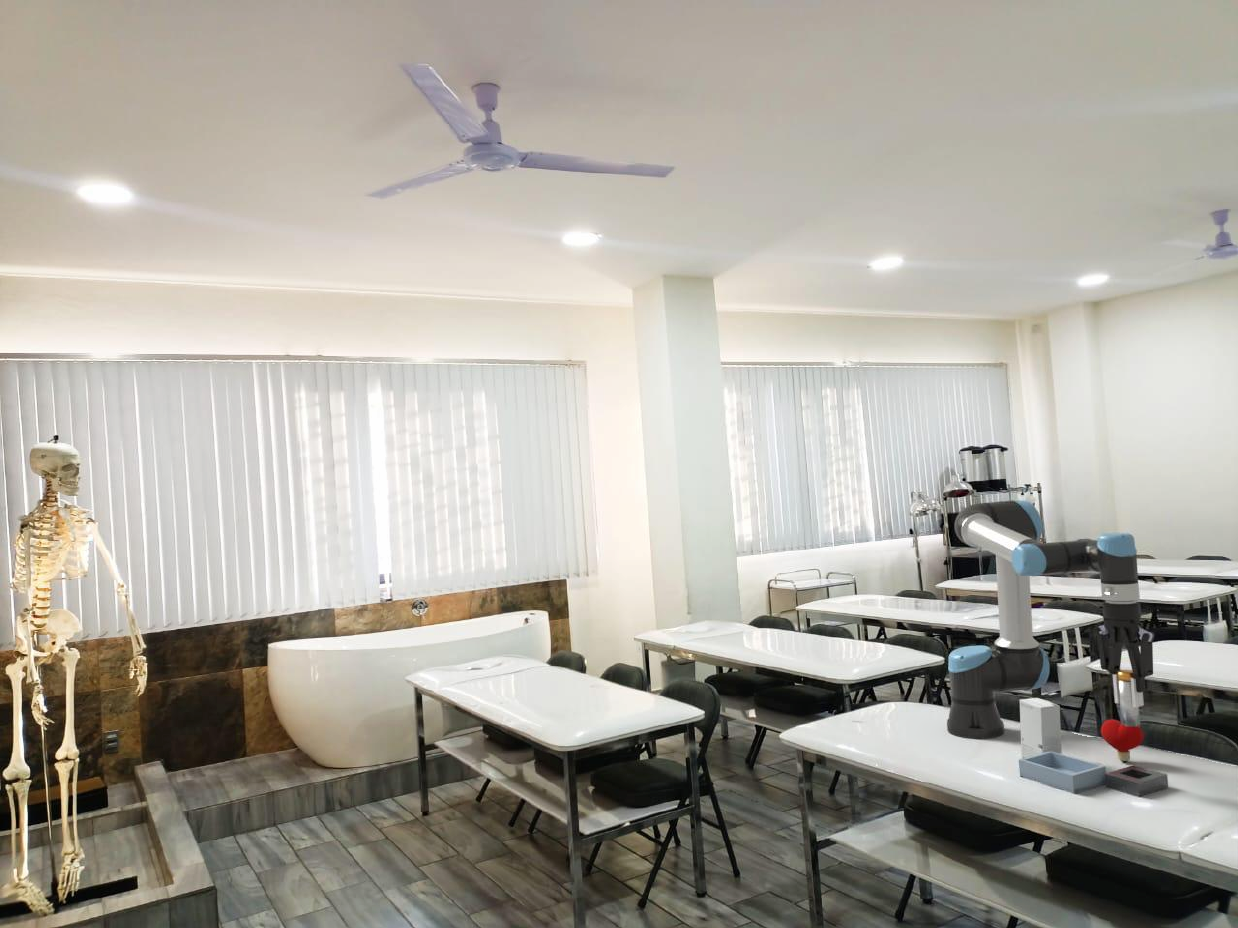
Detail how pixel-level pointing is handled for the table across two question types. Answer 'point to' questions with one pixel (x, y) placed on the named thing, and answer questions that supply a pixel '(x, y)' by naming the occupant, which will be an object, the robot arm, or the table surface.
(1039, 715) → the skincare box
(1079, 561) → the robot arm
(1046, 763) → the tray
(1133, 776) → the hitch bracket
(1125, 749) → the red heart shape
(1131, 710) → the copper top battery
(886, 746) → the table surface
